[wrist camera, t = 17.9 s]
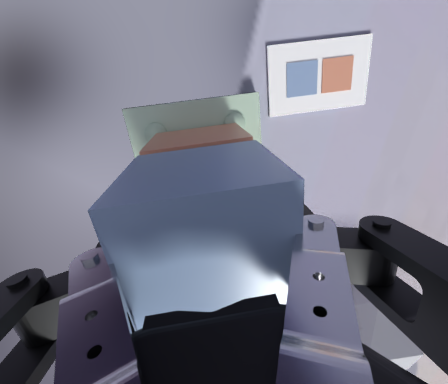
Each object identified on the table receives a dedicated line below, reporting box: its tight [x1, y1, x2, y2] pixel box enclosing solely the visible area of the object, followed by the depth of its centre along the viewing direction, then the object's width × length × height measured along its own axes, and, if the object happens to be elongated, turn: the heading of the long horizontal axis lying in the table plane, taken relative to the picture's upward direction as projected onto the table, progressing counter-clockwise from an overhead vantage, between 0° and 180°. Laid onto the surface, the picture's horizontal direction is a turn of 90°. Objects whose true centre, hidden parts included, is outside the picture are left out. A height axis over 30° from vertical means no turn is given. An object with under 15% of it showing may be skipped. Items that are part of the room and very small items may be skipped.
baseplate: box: [122, 92, 261, 158], centre depth 20 cm, size 10×10×1 cm
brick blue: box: [88, 140, 304, 330], centre depth 11 cm, size 6×6×6 cm
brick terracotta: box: [139, 123, 253, 155], centre depth 17 cm, size 6×6×6 cm
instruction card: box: [267, 34, 373, 117], centre depth 19 cm, size 8×5×1 cm, turn 96°
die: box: [351, 284, 424, 370], centre depth 25 cm, size 8×9×10 cm
